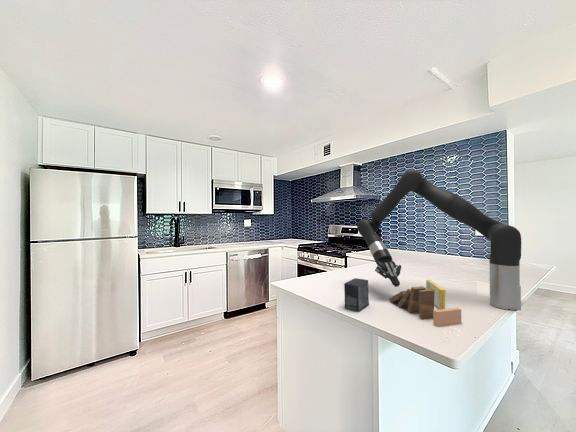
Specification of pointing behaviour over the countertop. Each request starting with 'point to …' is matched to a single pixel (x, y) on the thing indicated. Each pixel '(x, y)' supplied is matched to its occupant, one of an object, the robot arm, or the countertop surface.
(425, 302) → the domino
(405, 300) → the domino
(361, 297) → the small box
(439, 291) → the candy box
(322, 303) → the countertop surface
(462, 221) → the robot arm
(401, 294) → the domino
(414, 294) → the domino
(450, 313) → the domino
